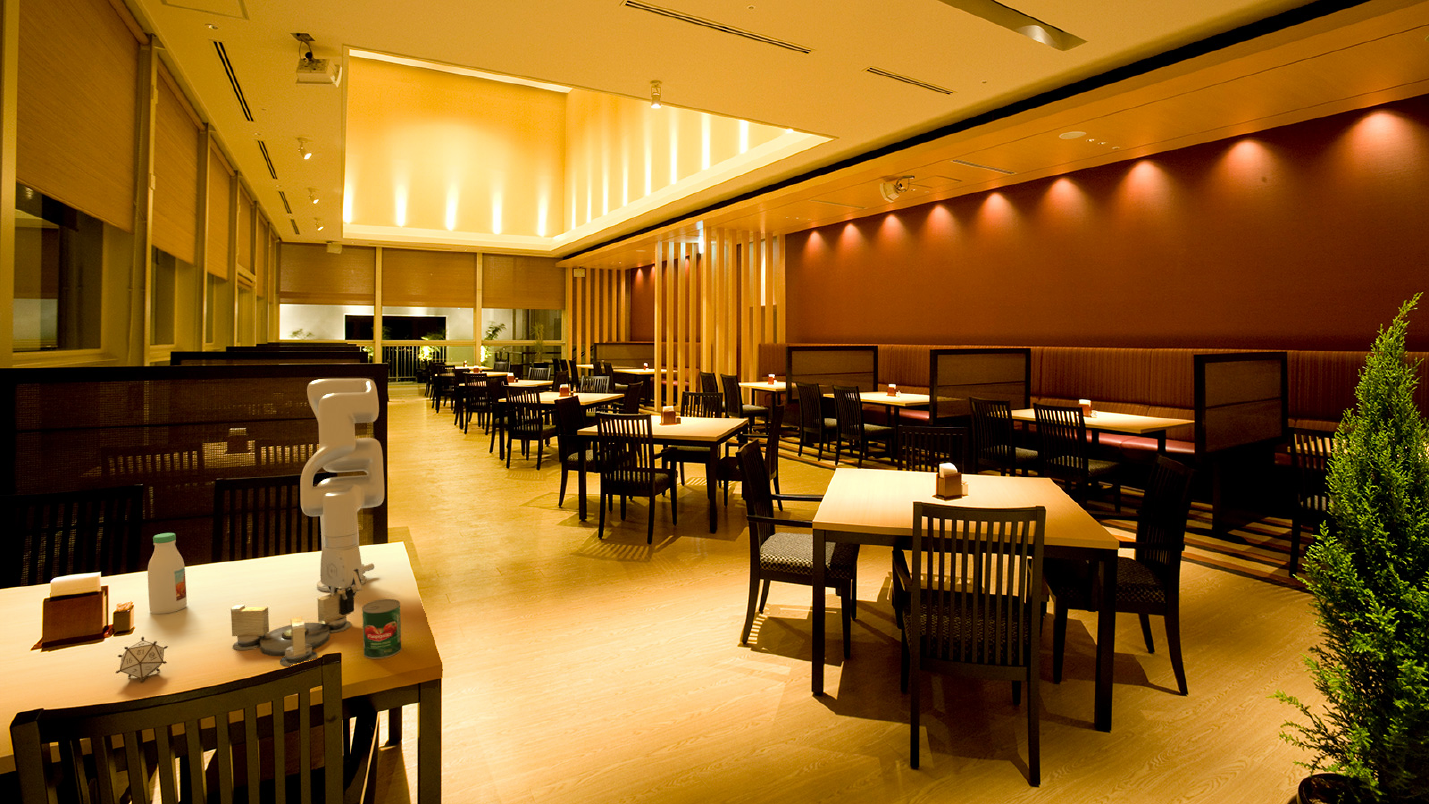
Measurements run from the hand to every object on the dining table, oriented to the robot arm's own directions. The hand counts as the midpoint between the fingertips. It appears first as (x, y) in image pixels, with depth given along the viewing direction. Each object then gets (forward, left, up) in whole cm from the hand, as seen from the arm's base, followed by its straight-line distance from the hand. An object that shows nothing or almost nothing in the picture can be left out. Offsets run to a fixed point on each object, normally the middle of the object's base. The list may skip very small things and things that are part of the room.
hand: (343, 611), depth 175 cm
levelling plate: (+10, 0, -3) cm, 10 cm away
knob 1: (+17, -9, -3) cm, 20 cm away
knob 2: (+17, +9, -3) cm, 20 cm away
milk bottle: (+14, -49, -3) cm, 51 cm away
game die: (+37, -12, -3) cm, 40 cm away
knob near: (+2, 0, -3) cm, 4 cm away
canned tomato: (+6, +22, -3) cm, 23 cm away
